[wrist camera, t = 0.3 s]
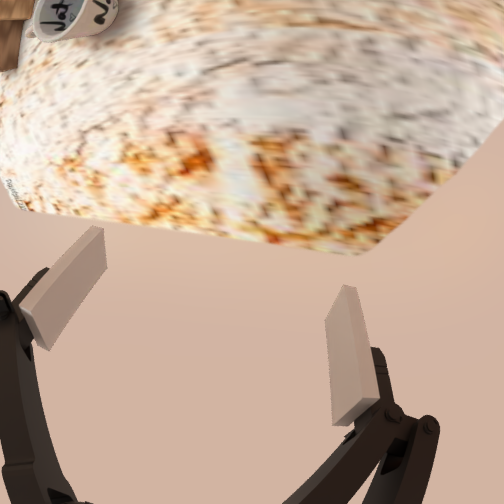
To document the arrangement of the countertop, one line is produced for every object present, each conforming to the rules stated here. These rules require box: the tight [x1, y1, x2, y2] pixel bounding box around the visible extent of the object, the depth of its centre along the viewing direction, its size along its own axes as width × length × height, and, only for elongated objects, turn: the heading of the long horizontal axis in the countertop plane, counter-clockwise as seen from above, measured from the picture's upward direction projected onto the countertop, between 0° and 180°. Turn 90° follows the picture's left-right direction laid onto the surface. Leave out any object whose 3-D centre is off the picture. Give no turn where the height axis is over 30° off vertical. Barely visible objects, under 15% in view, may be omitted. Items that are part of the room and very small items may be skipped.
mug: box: [25, 0, 119, 43], centre depth 23 cm, size 10×15×10 cm
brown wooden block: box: [0, 20, 24, 72], centre depth 23 cm, size 16×5×8 cm, turn 170°
